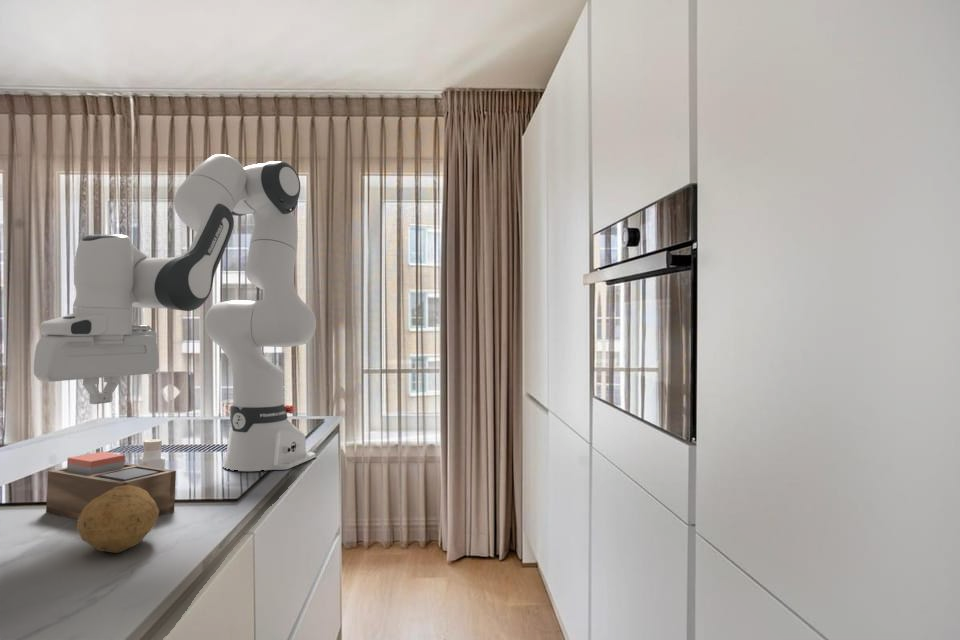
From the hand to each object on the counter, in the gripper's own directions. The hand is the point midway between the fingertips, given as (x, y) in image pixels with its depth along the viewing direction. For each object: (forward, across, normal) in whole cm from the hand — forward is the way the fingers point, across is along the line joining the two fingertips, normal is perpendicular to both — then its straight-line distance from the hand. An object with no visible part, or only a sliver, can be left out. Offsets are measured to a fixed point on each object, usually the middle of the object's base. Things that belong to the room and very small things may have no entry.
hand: (100, 403), depth 101 cm
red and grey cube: (+15, +1, 0) cm, 15 cm away
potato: (+18, +11, +21) cm, 30 cm away
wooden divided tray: (+18, +1, +4) cm, 19 cm away
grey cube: (+17, +1, +9) cm, 19 cm away
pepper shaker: (+19, -12, -3) cm, 23 cm away
